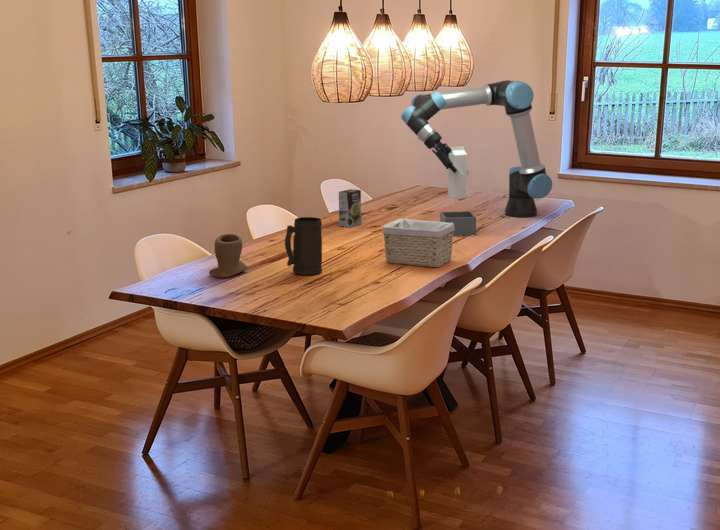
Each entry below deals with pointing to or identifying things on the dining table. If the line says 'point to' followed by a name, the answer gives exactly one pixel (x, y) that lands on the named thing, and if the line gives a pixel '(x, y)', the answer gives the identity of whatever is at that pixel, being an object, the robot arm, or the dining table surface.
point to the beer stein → (305, 245)
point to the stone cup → (228, 256)
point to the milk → (456, 186)
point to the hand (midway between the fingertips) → (465, 175)
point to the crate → (460, 222)
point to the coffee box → (349, 208)
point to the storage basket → (418, 242)
